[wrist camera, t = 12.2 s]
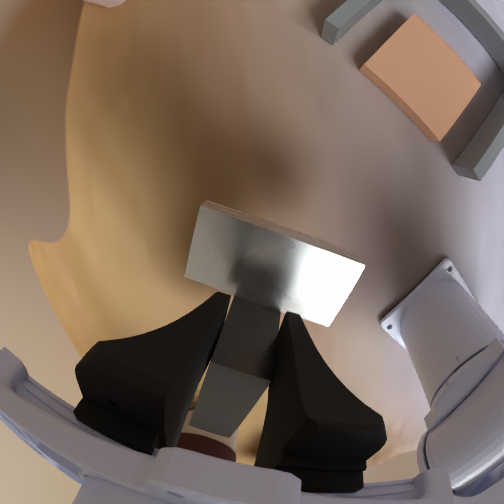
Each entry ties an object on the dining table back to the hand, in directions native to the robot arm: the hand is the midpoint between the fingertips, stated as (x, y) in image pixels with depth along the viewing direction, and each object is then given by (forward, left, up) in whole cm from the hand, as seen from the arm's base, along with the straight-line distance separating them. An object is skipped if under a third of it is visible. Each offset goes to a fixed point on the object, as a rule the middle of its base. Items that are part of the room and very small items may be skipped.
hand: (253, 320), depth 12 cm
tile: (0, -18, -9) cm, 20 cm away
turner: (-1, +2, -3) cm, 3 cm away
